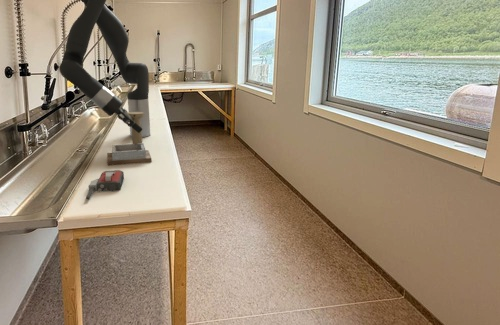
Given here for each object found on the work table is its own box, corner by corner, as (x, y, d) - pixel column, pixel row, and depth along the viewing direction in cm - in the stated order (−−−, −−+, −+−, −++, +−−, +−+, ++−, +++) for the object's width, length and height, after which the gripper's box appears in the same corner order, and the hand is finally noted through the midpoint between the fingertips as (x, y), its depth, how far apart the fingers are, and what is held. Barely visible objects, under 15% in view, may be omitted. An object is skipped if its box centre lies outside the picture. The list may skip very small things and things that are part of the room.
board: (107, 156, 143) (107, 152, 143) (148, 153, 148) (148, 150, 147) (107, 165, 132) (107, 161, 132) (151, 162, 137) (151, 158, 137)
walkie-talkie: (96, 179, 119) (83, 203, 101) (94, 166, 118) (81, 188, 99) (125, 178, 121) (118, 201, 102) (124, 164, 120) (116, 186, 101)
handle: (144, 151, 152) (142, 113, 148) (128, 151, 151) (125, 113, 147) (146, 148, 157) (144, 112, 152) (131, 148, 156) (128, 111, 152)
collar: (112, 152, 143) (111, 145, 142) (143, 150, 147) (143, 143, 146) (112, 160, 133) (112, 152, 132) (146, 158, 136) (145, 150, 135)
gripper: (113, 96, 139) (148, 125, 146) (113, 92, 152) (145, 119, 159) (99, 111, 138) (134, 139, 145) (100, 105, 151) (132, 132, 158)
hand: (140, 129), depth 152 cm, fingers open, 7 cm apart
